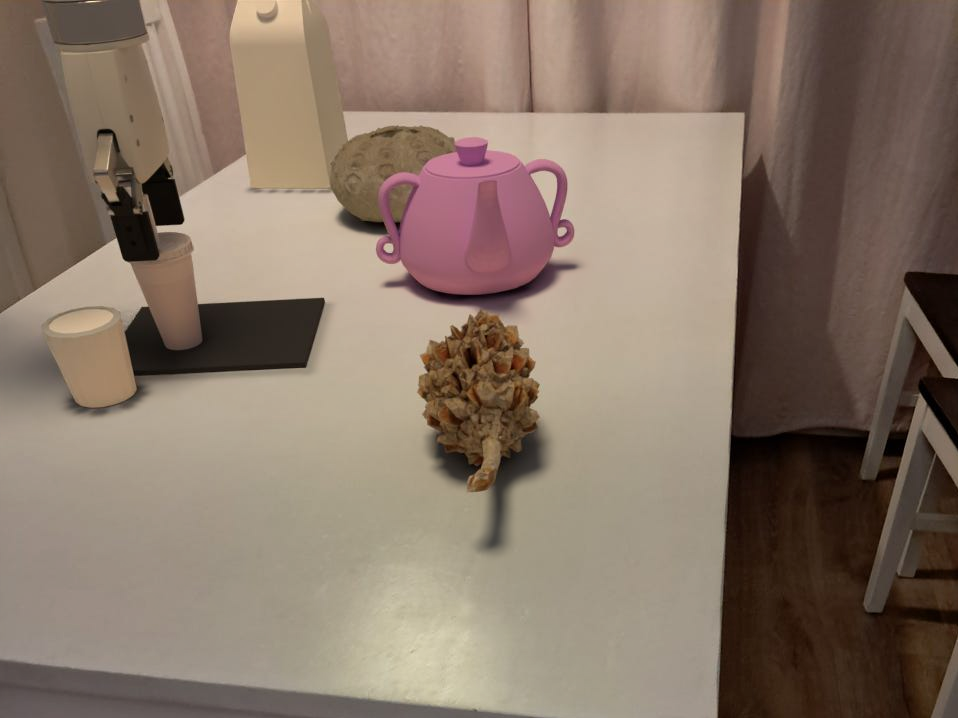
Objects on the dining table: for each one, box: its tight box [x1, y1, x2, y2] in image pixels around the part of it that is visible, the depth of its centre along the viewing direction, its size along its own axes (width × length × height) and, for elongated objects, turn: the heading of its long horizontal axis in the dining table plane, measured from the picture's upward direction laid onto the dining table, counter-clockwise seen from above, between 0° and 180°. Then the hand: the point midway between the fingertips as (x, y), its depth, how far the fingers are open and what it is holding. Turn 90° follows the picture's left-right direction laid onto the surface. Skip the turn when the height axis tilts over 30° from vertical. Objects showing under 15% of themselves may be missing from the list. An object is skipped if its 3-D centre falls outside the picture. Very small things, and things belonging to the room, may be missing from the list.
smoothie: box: [127, 193, 202, 350], centre depth 88 cm, size 6×6×14 cm
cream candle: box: [41, 305, 138, 409], centre depth 84 cm, size 7×7×7 cm
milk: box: [229, 0, 349, 189], centre depth 128 cm, size 12×12×26 cm
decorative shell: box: [330, 124, 457, 224], centre depth 118 cm, size 18×18×10 cm
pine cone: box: [416, 308, 541, 493], centre depth 69 cm, size 22×10×10 cm, turn 6°
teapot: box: [375, 136, 575, 296], centre depth 97 cm, size 22×22×14 cm
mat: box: [124, 297, 326, 376], centre depth 94 cm, size 20×16×1 cm
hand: (155, 241), depth 86 cm, fingers open, 9 cm apart
